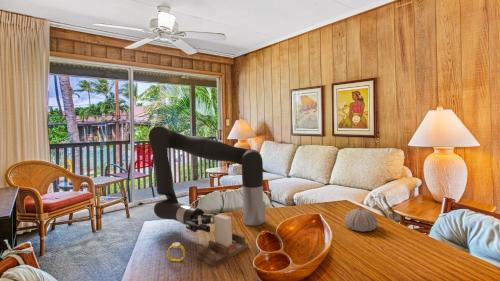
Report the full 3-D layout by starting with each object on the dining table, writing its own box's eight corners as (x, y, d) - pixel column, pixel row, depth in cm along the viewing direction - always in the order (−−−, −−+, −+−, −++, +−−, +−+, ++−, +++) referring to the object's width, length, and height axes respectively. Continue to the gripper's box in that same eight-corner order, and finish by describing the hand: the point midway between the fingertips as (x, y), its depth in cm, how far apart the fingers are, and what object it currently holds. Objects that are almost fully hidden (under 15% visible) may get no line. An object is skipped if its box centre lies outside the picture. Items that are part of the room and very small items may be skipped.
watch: (166, 263, 93) (165, 246, 92) (168, 258, 96) (168, 242, 95) (184, 262, 93) (183, 245, 92) (186, 258, 96) (185, 241, 95)
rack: (195, 257, 96) (194, 246, 96) (229, 239, 109) (228, 230, 109) (214, 266, 90) (214, 255, 89) (248, 247, 103) (248, 236, 102)
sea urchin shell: (343, 231, 114) (343, 212, 114) (345, 220, 127) (345, 203, 126) (378, 236, 109) (378, 216, 109) (376, 223, 122) (377, 206, 121)
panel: (215, 248, 99) (214, 215, 98) (220, 245, 101) (219, 213, 100) (227, 253, 96) (226, 219, 94) (232, 250, 97) (231, 217, 96)
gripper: (174, 211, 104) (202, 221, 94) (203, 202, 115) (231, 210, 105) (175, 230, 105) (203, 242, 95) (204, 219, 116) (232, 229, 106)
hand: (218, 225), depth 100 cm, fingers open, 8 cm apart
